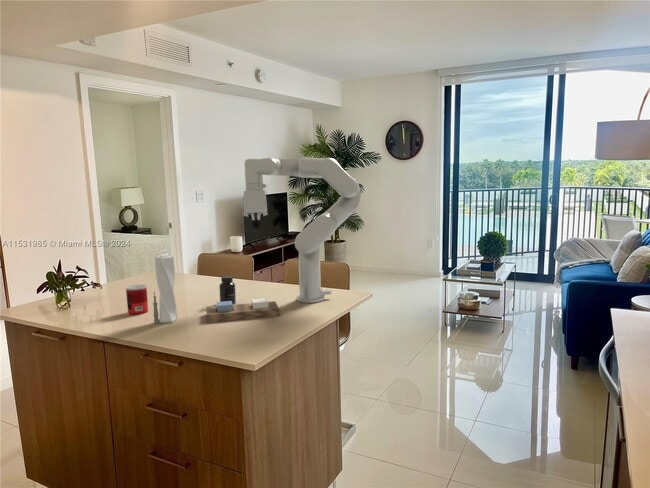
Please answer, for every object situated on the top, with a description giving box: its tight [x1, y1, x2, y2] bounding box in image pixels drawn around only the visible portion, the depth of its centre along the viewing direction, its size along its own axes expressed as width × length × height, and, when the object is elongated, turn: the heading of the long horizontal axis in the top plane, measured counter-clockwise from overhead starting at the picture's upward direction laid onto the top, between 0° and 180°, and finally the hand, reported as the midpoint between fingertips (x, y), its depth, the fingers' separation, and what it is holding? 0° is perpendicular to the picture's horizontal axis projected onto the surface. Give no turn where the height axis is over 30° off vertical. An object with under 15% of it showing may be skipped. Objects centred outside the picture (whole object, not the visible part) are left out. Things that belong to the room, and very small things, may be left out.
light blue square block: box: [216, 301, 234, 312], centre depth 190 cm, size 6×6×3 cm
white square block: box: [251, 297, 269, 309], centre depth 193 cm, size 6×6×3 cm
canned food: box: [125, 284, 149, 316], centre depth 199 cm, size 8×8×11 cm
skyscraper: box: [152, 249, 178, 325], centre depth 185 cm, size 8×8×28 cm
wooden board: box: [206, 301, 281, 324], centre depth 192 cm, size 28×12×3 cm, turn 104°
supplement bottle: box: [218, 275, 237, 305], centre depth 209 cm, size 7×7×12 cm
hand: (256, 228), depth 212 cm, fingers closed
